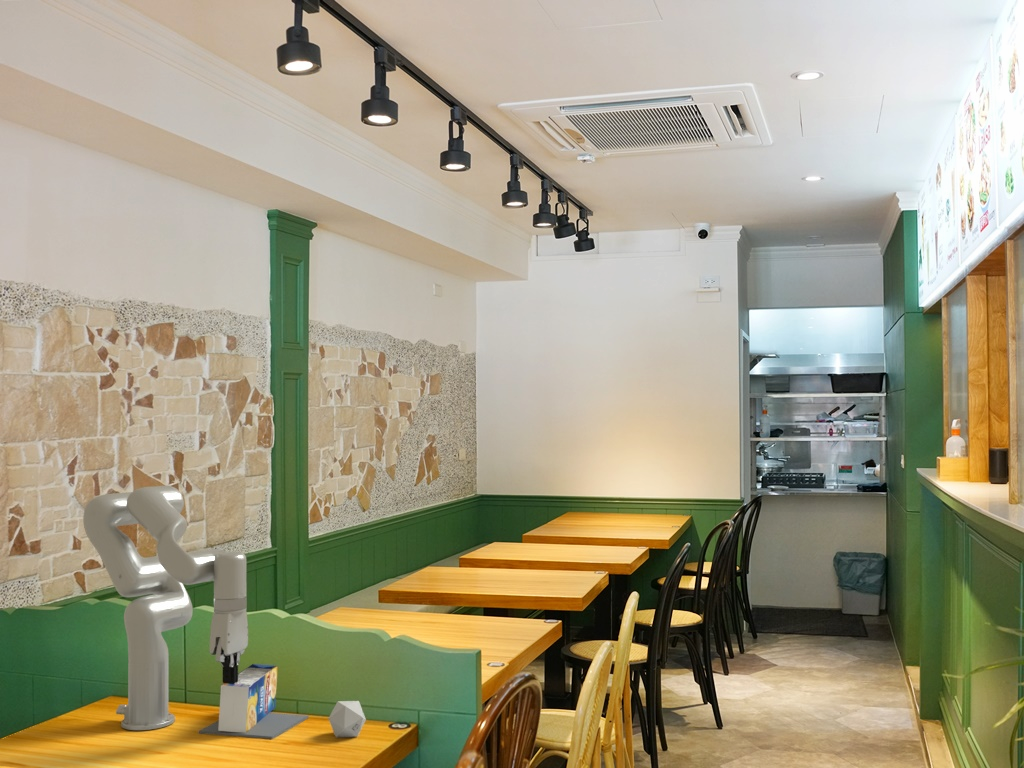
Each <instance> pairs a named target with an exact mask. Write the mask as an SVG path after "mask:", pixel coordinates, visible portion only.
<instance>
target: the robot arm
mask: <svg viewBox="0 0 1024 768" xmlns="http://www.w3.org/2000/svg"><path fill="white" fill-rule="evenodd" d="M184 506H185V500H184V497H183V494H182V492H181V491H180V490H179V489H177V487H174V486H172V485H155V486H152V485H151V486H144V487H139V488H137V489H135V490H133V491H130V492H116V493H107V494H106V493H105V494H101V495H97V496H95V497H93V498H92V499H91V500H89V501H88V502H87V504H86V505H85V507H84V510H83V517H82V519H83V521H82V522H83V527H84V532H85V534H86V536H87V538H88V539H89V542H90V543H91V545H92V547H93V548H94V549H95V550H96V552H97V554H98V555H99V557H100V559H101V560H102V563H103V565H104V567H105V570H106V572H107V574H108V576H109V578H110V580H111V582H112V584H113V586H114V588H115V590H116V592H117V593H118V594H119V595H120V596H121V597H123V598H134V599H133V600H132V601H131V602H130V603H129V604H128V605H127V606H126V607H125V610H124V614H123V621H124V627H125V631H126V633H125V634H126V638H127V657H128V658H127V659H128V660H127V661H128V663H127V665H128V666H127V667H128V668H127V671H128V673H127V681H128V682H127V686H128V687H127V692H128V693H127V694H128V695H127V700H128V701H127V704H119V705H118V707H117V709H116V711H115V714H116V715H123V717H124V718H123V719H122V720H121V725H120V727H121V728H123V729H125V730H126V731H127V730H128V731H149V730H155V729H161V728H165V727H167V726H170V725H172V724H174V722H175V721H176V716H175V714H173V713H171V712H169V693H170V692H169V686H170V685H169V681H170V680H169V672H170V671H169V669H170V668H169V658H170V657H169V647H168V644H167V642H166V640H165V639H164V637H163V634H162V632H163V633H164V632H166V631H171V630H175V629H178V628H182V627H185V626H186V625H187V624H188V623H190V621H191V620H192V616H193V613H194V612H193V611H194V610H193V609H194V608H193V603H192V601H191V597H190V595H189V594H188V590H187V589H186V587H185V585H186V586H190V585H196V584H201V583H207V582H213V613H212V617H211V622H210V630H209V631H210V635H209V654H210V655H211V656H215V662H216V663H217V662H218V663H220V665H221V667H222V684H224V683H226V684H234V683H237V682H238V673H239V665H240V661H241V655H243V654H244V653H245V649H246V648H248V646H249V645H248V644H249V624H248V623H249V622H248V613H247V605H248V604H247V600H248V599H247V556H246V554H245V553H244V552H242V551H241V552H240V551H226V550H223V549H218V548H217V549H215V548H213V549H206V550H204V549H203V550H198V551H190V552H187V551H186V550H185V549H184V548H183V547H182V546H181V545H180V544H179V543H178V542H179V540H180V539H181V538H182V537H183V536H184V535H185V533H186V531H187V528H188V522H187V519H186V518H185V517H184V515H182V514H181V513H182V511H183V509H184ZM138 524H140V526H141V527H142V528H143V529H145V531H146V532H147V533H148V534H150V536H151V537H152V538H153V539H154V540H155V541H156V554H157V555H155V556H147V557H143V556H142V555H141V554H140V553H139V551H138V550H137V548H136V545H135V543H134V541H133V540H132V539H131V538H130V536H128V535H127V534H126V533H124V532H123V531H122V530H120V529H119V527H121V526H129V525H138ZM136 597H137V598H136ZM135 598H136V599H135Z"/></svg>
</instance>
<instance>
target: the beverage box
mask: <svg viewBox="0 0 1024 768" xmlns="http://www.w3.org/2000/svg"><path fill="white" fill-rule="evenodd" d="M278 670H279V669H278V665H269V664H259V663H256V664H255V663H252V664H251V665H248V666H247V667H246V668H245V669H243V670H242V671H240V672H238V682H237V683H234V684H226V683H222V684H221V685H220V694H219V695H220V697H219V699H220V700H219V712H218V721H219V727H218V731H228V732H241V733H246V732H248V731H249V730H250V729H251V728H252V727H253V726H254V725H256V724H257V723H258V722H259V721H260V720H261V719H263V718H264V717H265V716H266V715H267V714H268V713H272V712H273V710H275V709H276V700H277V698H276V697H277V683H278Z"/></svg>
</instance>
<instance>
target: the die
mask: <svg viewBox="0 0 1024 768" xmlns="http://www.w3.org/2000/svg"><path fill="white" fill-rule="evenodd" d="M328 721H329V723H330V726H331V728H332V731H333V733H334V736H335V738H358V737H359V735H360V733H361V731H362V728H363V726H364V725H365V722H366V721H367V718H366V716H365V713H364V711H363V708H362V705H361V703H360V701H359V700H343V701H342V700H341V701H340V700H339V701H337V702H336V704H335V705H334V708H333V709H332V711H331V712H330V714H329V716H328ZM357 736H358V737H357Z"/></svg>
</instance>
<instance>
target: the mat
mask: <svg viewBox="0 0 1024 768" xmlns="http://www.w3.org/2000/svg"><path fill="white" fill-rule="evenodd" d="M307 719H309V715H308V714H307V715H306V714H294V713H292V714H291V713H281V712H279V713H278V712H270V713H268V714H267V715H266V716H265V717H264V718H263V719H261V720H260V721H259V722H258V723H257V724H256V725H254V726H253V727H252V728H251V729H250V730H249V731H248V732H246V733H241V732H228V731H218V727H219V720H217V721H215V722H213V723H211V724H209V725H207V726H205V727H203V728H201V729H199V730H198V734H203V735H216V736H229V737H230V736H231V737H242V738H253V739H265V740H266V739H267V740H273V739H275V738H277V737H279V736H280V735H283V734H285V732H287V731H289V730H290V729H293V727H296V726H297V725H299V724H301V723H303V722H304V721H306V720H307Z"/></svg>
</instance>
